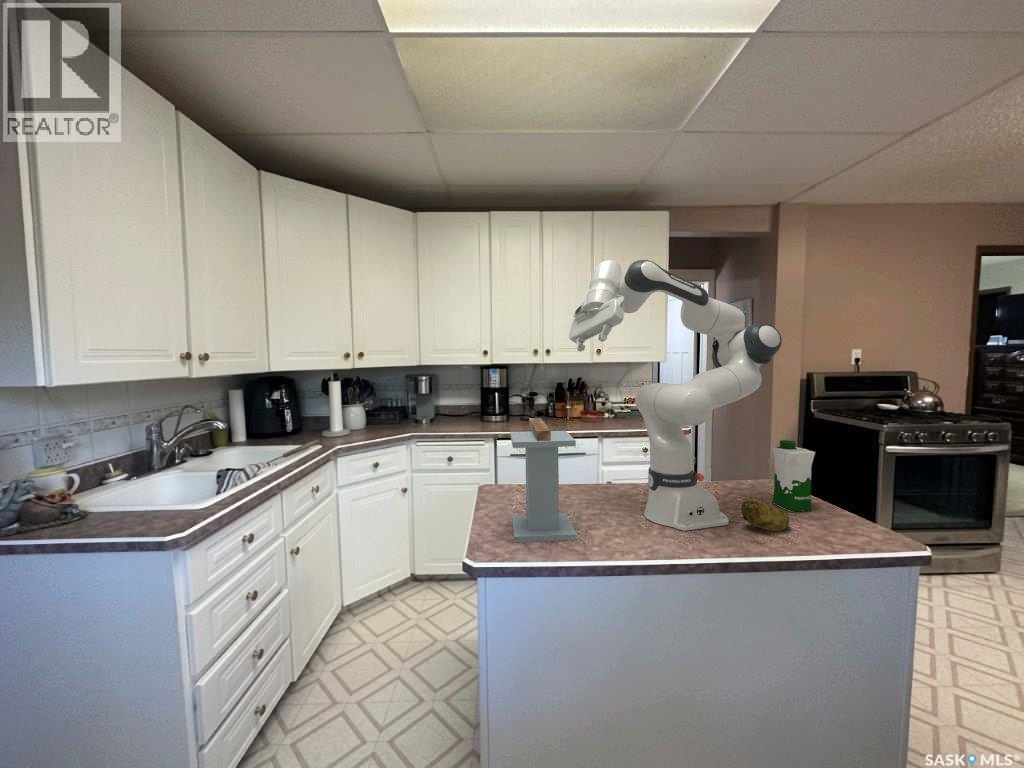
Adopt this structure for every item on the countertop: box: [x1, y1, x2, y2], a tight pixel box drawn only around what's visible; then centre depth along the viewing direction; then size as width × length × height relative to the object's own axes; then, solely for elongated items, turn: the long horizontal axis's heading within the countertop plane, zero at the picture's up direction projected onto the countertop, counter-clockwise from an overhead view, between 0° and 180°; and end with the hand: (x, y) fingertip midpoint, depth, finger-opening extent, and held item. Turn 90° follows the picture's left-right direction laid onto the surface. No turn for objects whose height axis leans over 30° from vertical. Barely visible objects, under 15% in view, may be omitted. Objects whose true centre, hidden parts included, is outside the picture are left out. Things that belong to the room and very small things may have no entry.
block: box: [528, 417, 552, 441], centre depth 113 cm, size 4×22×2 cm, turn 3°
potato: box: [740, 498, 791, 532], centre depth 108 cm, size 8×13×8 cm, turn 82°
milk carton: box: [772, 439, 816, 512], centre depth 122 cm, size 9×9×20 cm
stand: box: [509, 430, 578, 543], centre depth 109 cm, size 16×14×26 cm
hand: (590, 345), depth 115 cm, fingers open, 8 cm apart
